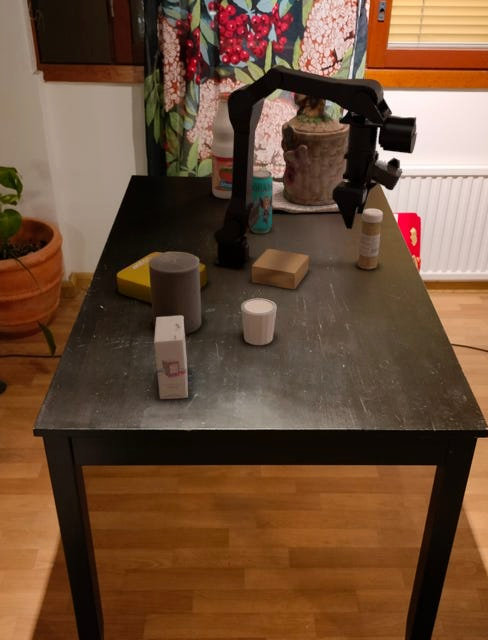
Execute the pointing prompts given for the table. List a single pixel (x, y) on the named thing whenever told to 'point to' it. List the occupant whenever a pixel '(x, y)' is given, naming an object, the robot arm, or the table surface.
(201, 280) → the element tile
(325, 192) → the cookie jar
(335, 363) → the table surface
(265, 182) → the beverage can
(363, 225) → the sprinkles bottle
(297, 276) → the maple block
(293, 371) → the table surface
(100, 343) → the table surface
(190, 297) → the pillar candle
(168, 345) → the ink box
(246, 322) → the shot glass
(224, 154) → the fruit juice
